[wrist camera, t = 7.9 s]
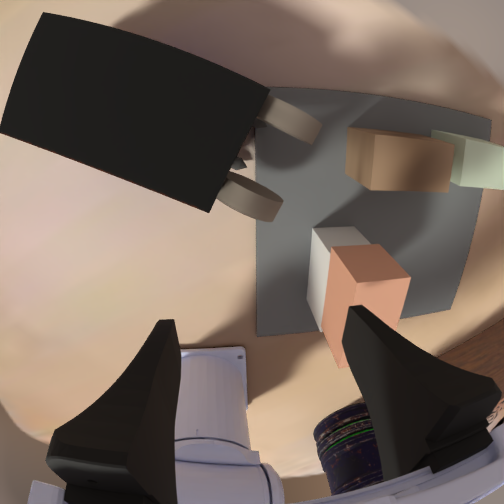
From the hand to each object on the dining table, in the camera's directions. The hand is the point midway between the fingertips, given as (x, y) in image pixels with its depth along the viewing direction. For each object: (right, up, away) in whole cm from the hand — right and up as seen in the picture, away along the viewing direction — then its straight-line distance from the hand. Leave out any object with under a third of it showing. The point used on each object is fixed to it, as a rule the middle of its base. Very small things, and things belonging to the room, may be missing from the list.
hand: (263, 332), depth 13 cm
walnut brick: (+9, +10, +7) cm, 15 cm away
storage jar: (+12, -19, +23) cm, 32 cm away
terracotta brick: (+6, +1, +7) cm, 9 cm away
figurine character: (-5, +12, +5) cm, 14 cm away
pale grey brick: (+5, +2, +11) cm, 12 cm away
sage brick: (+16, +11, +8) cm, 21 cm away
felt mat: (+10, +5, +10) cm, 15 cm away
